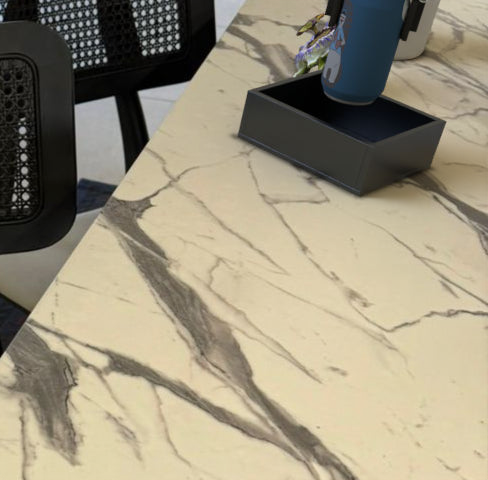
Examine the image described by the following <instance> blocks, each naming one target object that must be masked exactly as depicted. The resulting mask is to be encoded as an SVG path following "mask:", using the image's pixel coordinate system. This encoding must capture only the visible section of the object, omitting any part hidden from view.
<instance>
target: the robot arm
mask: <svg viewBox="0 0 488 480" xmlns="http://www.w3.org/2000/svg"><path fill="white" fill-rule="evenodd" d="M428 1H429V0H412V1H411V5H410V8H409V11H408V15H407V18H406V21H405V24H404V27H403V31H402V34H401V37H400V39H402V40H401V41H407V38H408V35H409V31H412V32H416V31H417V28H418V25H419V22H420V19H421V16H422V13H423V10H424V7H425V4H426V2H428ZM341 4H342V0H327V3H326V7H325V11H324V14H325V15H324V16H328V17H329V20H328V27H333V26H335V25H336V22H337V19H338V15H339V11H340V8H341Z"/></svg>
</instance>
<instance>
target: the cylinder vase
mask: <svg viewBox="0 0 488 480" xmlns="http://www.w3.org/2000/svg"><path fill="white" fill-rule="evenodd" d="M411 1H412V0H410V3H411ZM440 3H441V0H429V1H428V2H426V4H425V7H424V10H423V13H422V16H421V19H420V22H419V25H418V28H417V31H416V32H412V31H409V35H408V38H407V41H401V40H402V39H400V41H399V44H398V47H397V50H396V53H395V57H394V60H393V61H405V60H412V59H415V58H417V57H419V56H420V55H421V54H422V53H423V52H424V51H425V48H426V46H427V43H428V39H429V35H430V33H431V30H432V28H433V24H434V21H435V19H436V15H437V12H438V10H439V6H440Z"/></svg>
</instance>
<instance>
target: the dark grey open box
mask: <svg viewBox="0 0 488 480" xmlns="http://www.w3.org/2000/svg"><path fill="white" fill-rule="evenodd" d="M322 73H323V70H322V69H321V70H318V69H317V70H313V71H309V72H308V73H307V74H303V75H300V76H296V77H293V76H292V77H289V78H286V79H283V80H278V81H277V82H276V81H275V82H271V83H269V84H265V85H262V86H258V87H255V88H252V89H251V88H250V89H247V93H246V97H245V100H244V101H245V102H244V106H243V110H242V114H241V119H240V123H239V128H238V133H237V138H238V139H240V140H242V141H244V142H246V143H248V144H250V145H252V146H254V147H256V148H258V149H260V150H263V151H264V152H267V153H269V154H271V155H273V156H274V157H277V158H279V159H281V160H283V161H285V162H287V163H289V164H291V165H292V166H295V167H297V168H299V169H301V170H303V171H305V172H307V173H309V174H311V175H313V176H316V177H317V178H319V179H321V180H324V181H325V182H328V183H329V184H332V185H333V186H336V187H338V188H340V189H342V190H344V191H346V192H348V193H350V194H353V195H354V196H356V197H358V198H359V197H363V196H365V195H367V194H368V193H369V194H370V193H372V192H374V191H377V190H379V189H382V188H385V187H386V186H389V185H392V184H395V183H397V182H400V181H402V180H404V179H407V178H409V177H412V176H415V175H417V174H419V173H422V172H425V171H427V170H429V169H430V168H431V166H432V164H433V161H434V157H435V155H436V152H437V150H438V147H439V144H440V142H441V138H442V135H443V132H444V130H445V127H446V125H447V121H446V120H444V119H442V118H440V117H437V116H435V115H433V114H430V113H428V112H425V111H424V110H420V109H418V108H416V107H413V106H411V105H409V104H406V103H404V102H402V101H399V100H396V99H394V98H392V97H390V96H387V95H385V94H383V93H382V94H381V95H380V96H379V97H378V98H377V99H376V100H374V101H373V102H372V103H370V104H367V105H350V104H345V103H341V102H338V101H335V100H333V99H331V98H329V97H328V96H327V95H326V94H325V93H324V89H323V86H322V81H321V77H322Z"/></svg>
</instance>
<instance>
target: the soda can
mask: <svg viewBox="0 0 488 480" xmlns="http://www.w3.org/2000/svg"><path fill="white" fill-rule="evenodd" d="M410 5H411V3H410V0H342V4H341V8H340V11H339V15H338V19H337V22H336V26H335V30H334V33H333V37H332V40H331V44H330V48H329V51H328V55H327V59H326V62H325V66H324V70H323V73H322V77H321V81H322V86H323V89H324V93H325V94H326V95H327V96H328V97H329V98H331V99H333V100H335V101H338V102H341V103H345V104H350V105H367V104H370V103H372V102H373V101H374V100H376V99H377V98H378V97H379V96H380V95H381V94H382V95H383V92H384V91H385V89H386V85H387V82H388V79H389V75H390V73H391V69H392V66H393V63H394V61H395V60H394V57H395V53H396V50H397V47H398V44H399V41H400V37H401V34H402V31H403V27H404V24H405V21H406V18H407V15H408V11H409V8H410Z"/></svg>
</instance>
